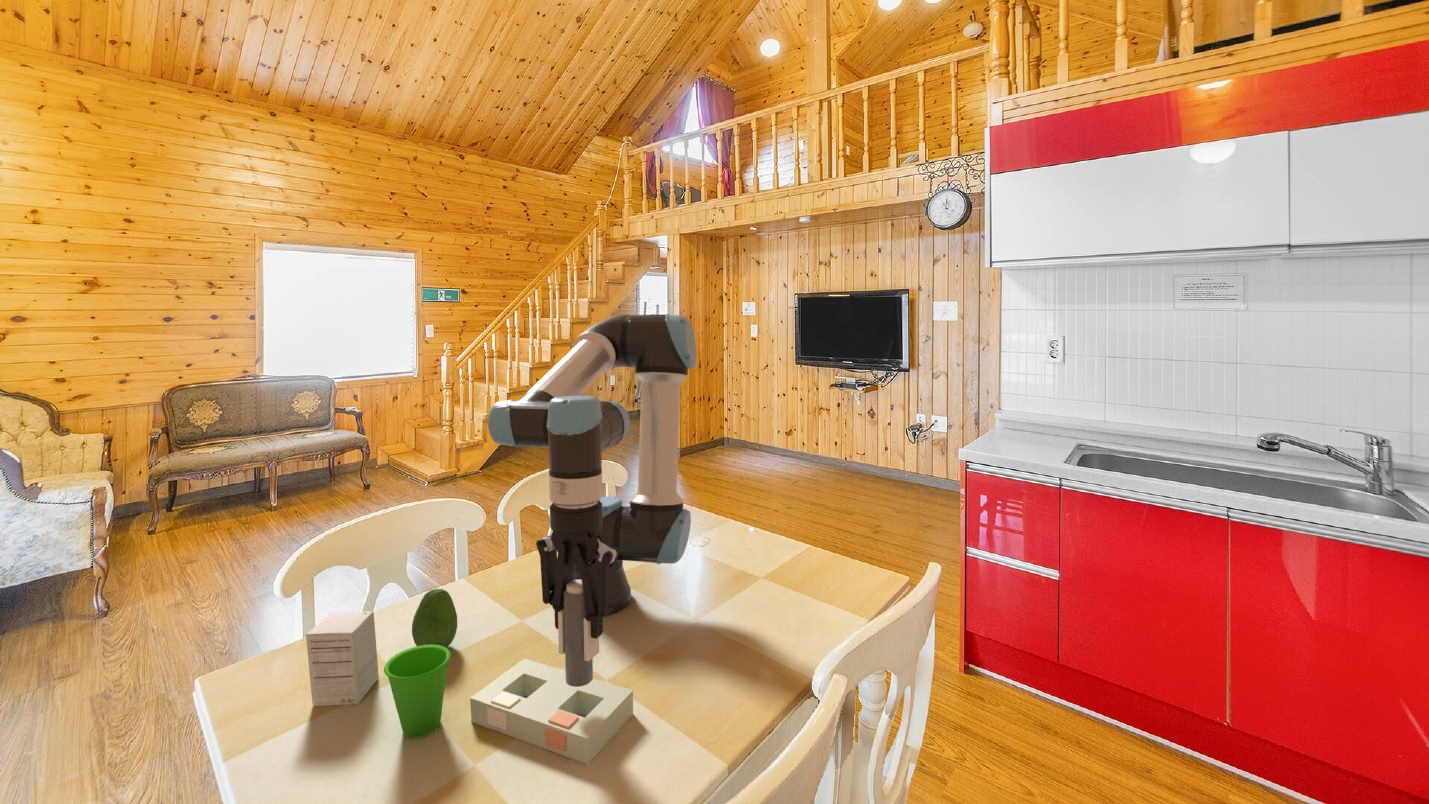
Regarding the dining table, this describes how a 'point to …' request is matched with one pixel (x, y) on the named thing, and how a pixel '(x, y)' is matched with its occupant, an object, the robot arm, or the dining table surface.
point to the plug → (575, 636)
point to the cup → (418, 687)
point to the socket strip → (553, 710)
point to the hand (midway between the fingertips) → (579, 652)
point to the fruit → (435, 619)
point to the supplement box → (342, 658)
